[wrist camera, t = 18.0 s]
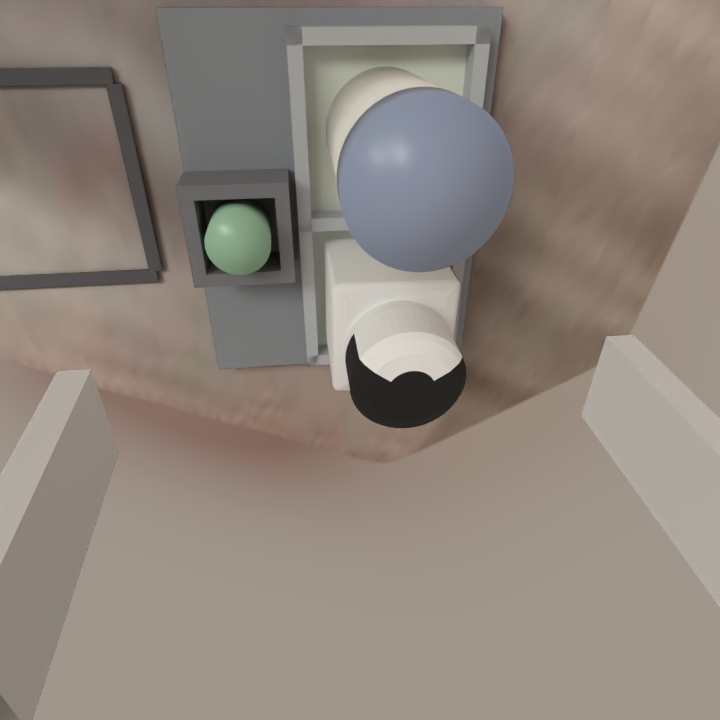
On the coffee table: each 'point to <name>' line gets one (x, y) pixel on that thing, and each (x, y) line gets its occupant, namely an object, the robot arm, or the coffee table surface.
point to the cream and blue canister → (417, 169)
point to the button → (239, 236)
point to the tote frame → (132, 169)
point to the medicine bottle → (391, 336)
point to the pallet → (294, 145)
